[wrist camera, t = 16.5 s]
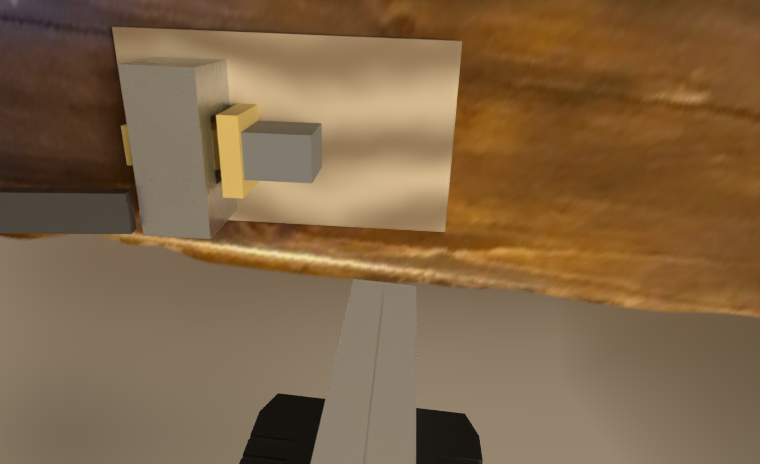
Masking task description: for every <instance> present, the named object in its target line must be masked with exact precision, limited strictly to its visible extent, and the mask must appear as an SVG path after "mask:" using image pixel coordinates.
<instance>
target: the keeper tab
mask: <svg viewBox="0 0 760 464" xmlns="http://www.w3.org/2000/svg"><path fill="white" fill-rule="evenodd" d="M135 229H136V223H135V216H134V210H133V203H132V197H131V190H130V189H54V188H0V233H54V234H132V233H133V232H134V231H135Z"/></svg>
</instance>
